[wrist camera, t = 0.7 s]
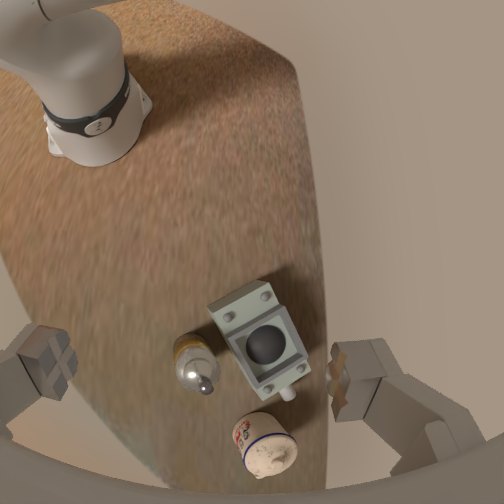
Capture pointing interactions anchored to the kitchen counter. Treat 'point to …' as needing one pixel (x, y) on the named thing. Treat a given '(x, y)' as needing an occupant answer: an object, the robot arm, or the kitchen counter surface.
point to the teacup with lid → (264, 444)
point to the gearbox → (261, 339)
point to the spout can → (195, 363)
